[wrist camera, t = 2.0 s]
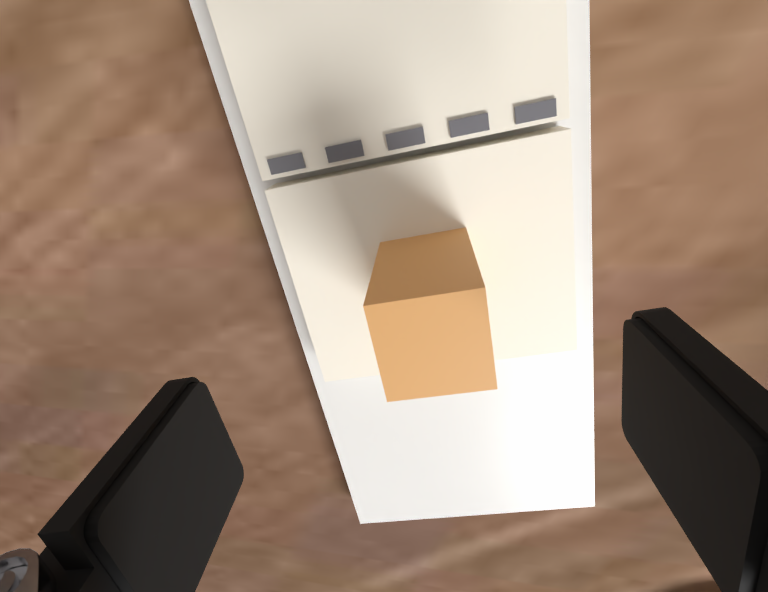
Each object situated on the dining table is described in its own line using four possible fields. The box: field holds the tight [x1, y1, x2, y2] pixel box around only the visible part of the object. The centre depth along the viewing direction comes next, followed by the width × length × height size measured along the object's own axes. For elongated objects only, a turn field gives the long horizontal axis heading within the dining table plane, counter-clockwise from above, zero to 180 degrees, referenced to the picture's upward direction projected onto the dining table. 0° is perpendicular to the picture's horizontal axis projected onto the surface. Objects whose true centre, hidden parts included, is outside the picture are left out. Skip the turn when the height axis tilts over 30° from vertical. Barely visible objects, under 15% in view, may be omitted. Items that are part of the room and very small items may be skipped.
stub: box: [265, 126, 577, 402], centre depth 14 cm, size 10×8×6 cm
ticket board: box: [189, 0, 595, 524], centre depth 17 cm, size 12×29×2 cm, turn 12°
